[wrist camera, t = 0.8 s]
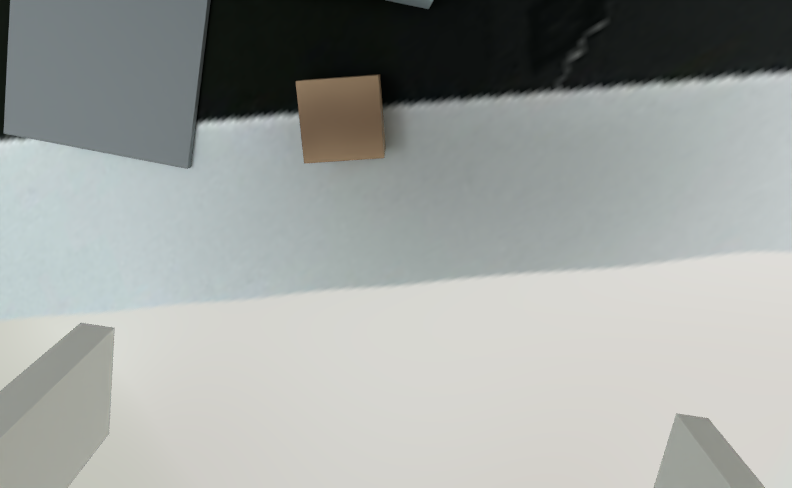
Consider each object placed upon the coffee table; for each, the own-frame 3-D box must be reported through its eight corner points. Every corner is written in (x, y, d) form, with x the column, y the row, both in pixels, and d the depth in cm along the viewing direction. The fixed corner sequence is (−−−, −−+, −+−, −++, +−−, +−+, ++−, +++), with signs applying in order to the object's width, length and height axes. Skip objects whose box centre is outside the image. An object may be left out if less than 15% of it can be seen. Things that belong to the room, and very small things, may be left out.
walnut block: (306, 79, 37) (295, 81, 33) (380, 74, 37) (378, 75, 33) (313, 153, 38) (304, 163, 34) (385, 148, 38) (384, 158, 34)
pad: (19, -61, 35) (13, -63, 35) (213, -21, 36) (210, -23, 35) (9, 132, 38) (3, 133, 37) (190, 167, 38) (187, 168, 38)
